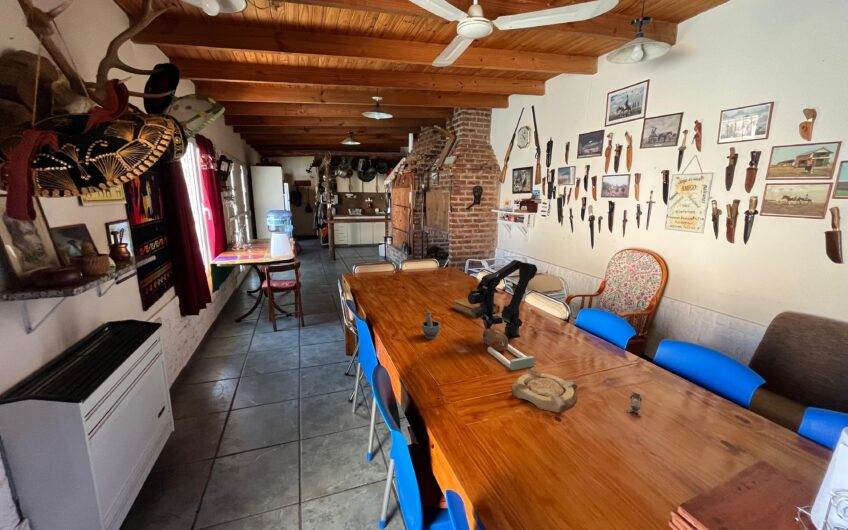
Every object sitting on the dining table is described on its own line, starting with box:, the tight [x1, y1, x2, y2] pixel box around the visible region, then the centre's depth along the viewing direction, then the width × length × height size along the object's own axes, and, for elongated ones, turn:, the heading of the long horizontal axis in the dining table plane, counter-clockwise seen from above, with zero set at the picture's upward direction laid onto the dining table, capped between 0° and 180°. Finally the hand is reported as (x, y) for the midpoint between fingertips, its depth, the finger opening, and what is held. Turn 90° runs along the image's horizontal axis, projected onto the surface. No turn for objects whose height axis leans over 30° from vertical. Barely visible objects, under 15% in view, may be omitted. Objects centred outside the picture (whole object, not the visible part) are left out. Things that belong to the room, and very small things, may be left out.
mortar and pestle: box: [421, 311, 442, 340], centre depth 178 cm, size 11×9×12 cm
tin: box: [482, 328, 509, 352], centre depth 165 cm, size 15×3×8 cm, turn 32°
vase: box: [623, 391, 643, 417], centre depth 116 cm, size 5×5×6 cm
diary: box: [452, 297, 501, 320], centre depth 219 cm, size 23×19×6 cm
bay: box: [487, 343, 535, 371], centre depth 154 cm, size 11×20×4 cm, turn 20°
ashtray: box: [511, 368, 579, 413], centre depth 127 cm, size 24×24×5 cm
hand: (486, 331), depth 172 cm, fingers closed
